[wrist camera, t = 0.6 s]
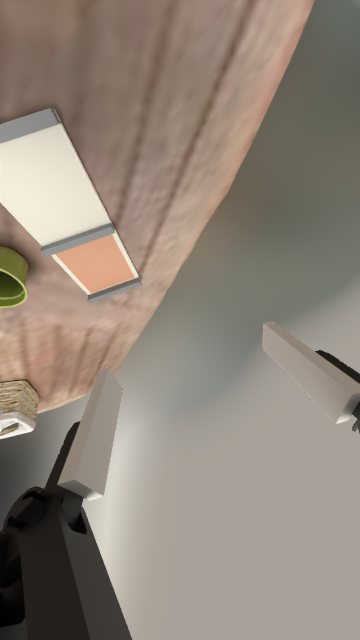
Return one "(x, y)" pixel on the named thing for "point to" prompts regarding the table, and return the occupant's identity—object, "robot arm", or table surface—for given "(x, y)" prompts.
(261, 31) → the table surface
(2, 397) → the storage basket
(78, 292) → the table surface
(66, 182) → the slot board
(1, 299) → the plant pot
